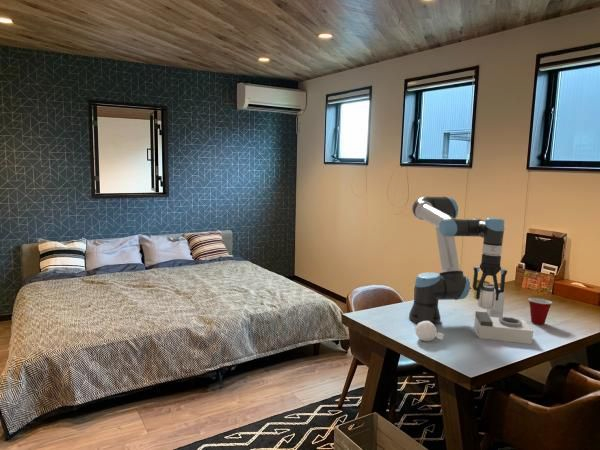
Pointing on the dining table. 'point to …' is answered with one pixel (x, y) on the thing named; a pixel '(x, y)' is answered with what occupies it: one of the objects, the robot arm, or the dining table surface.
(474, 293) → the plant pot
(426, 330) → the perfume bottle
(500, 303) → the skincare box
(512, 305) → the dining table surface
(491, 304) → the lens
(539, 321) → the plastic cup
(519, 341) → the camera body
